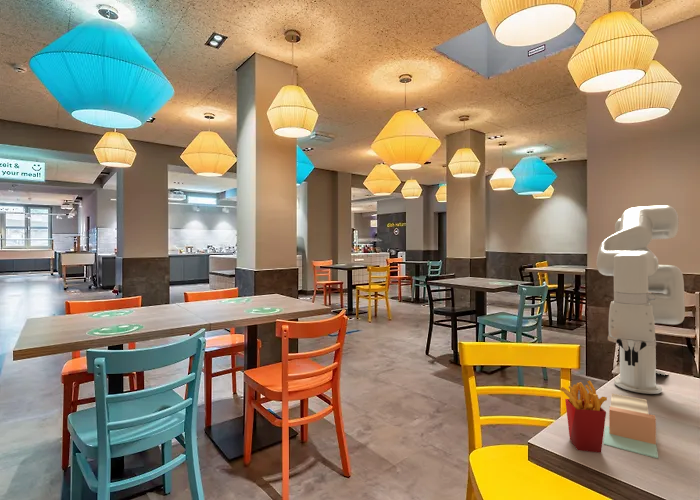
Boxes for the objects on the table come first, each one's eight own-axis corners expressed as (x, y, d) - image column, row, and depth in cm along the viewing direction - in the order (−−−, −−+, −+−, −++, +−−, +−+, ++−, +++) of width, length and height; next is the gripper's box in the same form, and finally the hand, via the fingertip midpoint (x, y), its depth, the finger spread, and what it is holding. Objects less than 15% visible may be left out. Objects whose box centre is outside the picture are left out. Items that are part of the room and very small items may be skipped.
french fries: (607, 455, 84) (607, 389, 84) (567, 452, 86) (567, 386, 86) (590, 436, 93) (590, 376, 93) (554, 433, 94) (554, 374, 94)
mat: (605, 426, 97) (605, 425, 97) (654, 438, 92) (654, 437, 92) (603, 444, 89) (603, 443, 89) (658, 458, 83) (658, 457, 83)
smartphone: (635, 368, 135) (635, 366, 135) (646, 372, 145) (646, 369, 145) (660, 373, 130) (661, 371, 130) (670, 377, 139) (670, 374, 139)
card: (609, 406, 95) (609, 409, 93) (655, 415, 90) (655, 419, 88) (609, 429, 95) (609, 433, 93) (655, 440, 90) (655, 444, 88)
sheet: (611, 406, 110) (611, 393, 110) (646, 413, 105) (646, 399, 105) (610, 428, 97) (610, 412, 97) (649, 437, 92) (649, 420, 92)
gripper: (665, 297, 100) (665, 364, 101) (598, 294, 109) (599, 355, 110) (667, 302, 94) (668, 374, 95) (597, 298, 103) (598, 363, 104)
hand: (631, 364), depth 103 cm, fingers closed
